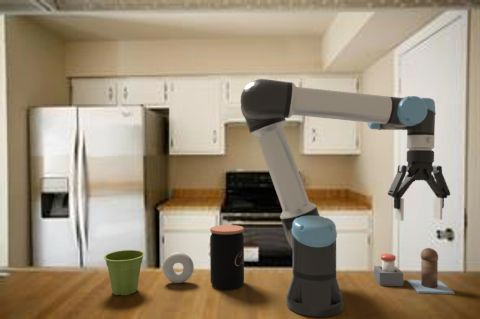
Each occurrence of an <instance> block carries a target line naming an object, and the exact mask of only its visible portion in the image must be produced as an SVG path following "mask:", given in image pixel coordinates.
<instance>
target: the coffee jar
mask: <svg viewBox="0 0 480 319" xmlns="http://www.w3.org/2000/svg"><path fill="white" fill-rule="evenodd" d="M209 230H210V231H209V232H210V233H211V235H210V237H209V238H210V239H209V243H210V244H209V246H210V247H209V256H210V257H209V258H210V260H209V261H210V269H209V270H210V271H209V272H210V283H211V286H212V287H213V286H214V287H213V288H215V287H216V288H215V289H217V288H218V290H221V289H222V291H231V289H232V290H236V288H237V289H238V288H239V289H240V288H241V287H242V286H243V284H244V282H245V238H244V237H245V236H244V234H243V232H244V226H241V225H235V224H223V225H222V224H220V225H214V226H212V227H209Z"/></svg>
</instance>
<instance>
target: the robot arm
mask: <svg viewBox="0 0 480 319" xmlns="http://www.w3.org/2000/svg"><path fill="white" fill-rule="evenodd" d="M240 111H241V113H242V116H243V117H244V119H245V122H246V126H247V128H248V131H249V133H250V135H252V136H254V137H256V138H257V142H258V144H259V147H260V149H261V153H262V155H263V158H264V161H265V164H266V167H267V169H268V172H269V175H270V178H271V181H272V185H273V186H274V190H275V192H276V195H277V198H278V201H279V203H280V207H281V209H282V212H281V214H280V215H279V218H280V220H281V224H282V227H283V230H284V232H285V233H284V234H285V235H284V236H285V238H286V241H287V243H288V244H289V245H290V247H291V250H292V277H291V280H290V283H289V286H288V289H287V292H286V300H285V301H286V304H285V305H286V307H287V308H288V309H289V310H290V311H292V312H294V313H296V314H298V315H302V316H307V317H314V318H315V317H316V318H326V317H333V316H335V315H336V316H337V315H338V314H340V313H342V311H343V310H344V298H343V294H342V292H341V288H340V285H339V283H338V279H337V239H338V238H337V237H338V232H337V227H336V224H335V222H334V221H333V220H332V219H330V218H329V217H323V216H321V215H320V213H319V211H318V208H317V205H316V204H315V203H313V202H312V201H310V200H309V197H308V194H307V191H306V189H305V186H304V184H303V180H302V177H301V175H300V171H299V168H298V166H297V163H296V161H295V158H294V155H293V151H292V149H291V146H290V144H289V143H290V142H289V140H288V137H287V135H286V132H285V129H284V128H285V125H286V123H287V119H289V118H291V117H292V116H301V117H312V118H320V119H330V120H332V119H333V120H340V121H350V122H361V123H362V122H364V123H367V124H366V125H367V127H368V128H369V129H371V130H376V131H377V130H378V131H381V130H382V131H385V130H386V131H388V130H390V131H397V130H398V131H400V130H401V131H406V149H408V150H406V162H407V165H406V164H405V165H402V164H400V165H398V166H397V171H396V174H395V177H394V178H393V181H392V183H391V185H390V187H389V190H388V192H387V195H388V196H390V197H392V198H393V209H395V218H394V219H395V220H398V221H404V217H405V215H404V214H405V213H404V209H405V208H404V207H405V205H404V204H405V198H403V196H404V195H405V193H406V192H407V191H408V189H409V188H410V187H411V185H412V184H413V183H414V182H416V181H425V182H426V184H427V185H428V187H429V188H430V189H431V191H432V192H433V193H434V195H435V196H434V197H433V217H432V218H433V219H437V220H442V219H443V209H444V207H445V199H447V198H448V197H450V195H451V192H450V189H449V187H448V184H447V181H446V178H445V177H444V174H443V168H442V167H443V166H441V165H433V163H434V161H435V151H434V150H433V149H434V148H435V128H436V123H435V122H436V115H437V113H436V102H435V100H434V99H433V98H431V97H428V98H427V97H419V96H414V95H409V96H404V97H398V96H389V95H388V96H387V95H379V94H368V93H367V94H366V93H359V92H358V93H357V92H351V91H350V92H349V91H341V90H340V91H339V90H330V89H329V90H328V89H321V88H320V89H319V88H313V87H312V88H309V87H301V86H300V87H299V86H296V84H295V83H294V82H290V81H281V80H275V79H266V78H259V79H254V80H253V81H252V80H251V82H249V83H248V84H246V86H245V87H244V88H243V90H242V92H241V95H240ZM406 173H407V174H406Z"/></svg>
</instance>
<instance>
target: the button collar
mask: <svg viewBox="0 0 480 319" xmlns="http://www.w3.org/2000/svg"><path fill="white" fill-rule="evenodd" d="M373 270H374V271H373V278H374V280H375V281H376V282H377V284H378V285H379V286H385V287H404V273H403V272H402V270H401V269H400V268H398V267H397V266H395V272H384V271H382V265H374V266H373Z"/></svg>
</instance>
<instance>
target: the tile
mask: <svg viewBox="0 0 480 319" xmlns="http://www.w3.org/2000/svg"><path fill="white" fill-rule="evenodd" d="M406 283H408V284H409V286H411V288H413V290H414V291H416V292H417V293H418V294H438V295H455V291H454V290H452V289H451V288H450V287H449V286H447V285H446V284H445V283H444V282H442V281H441V280H438V287H437V288H428V287H424V286H422V285H421V279H406Z"/></svg>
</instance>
